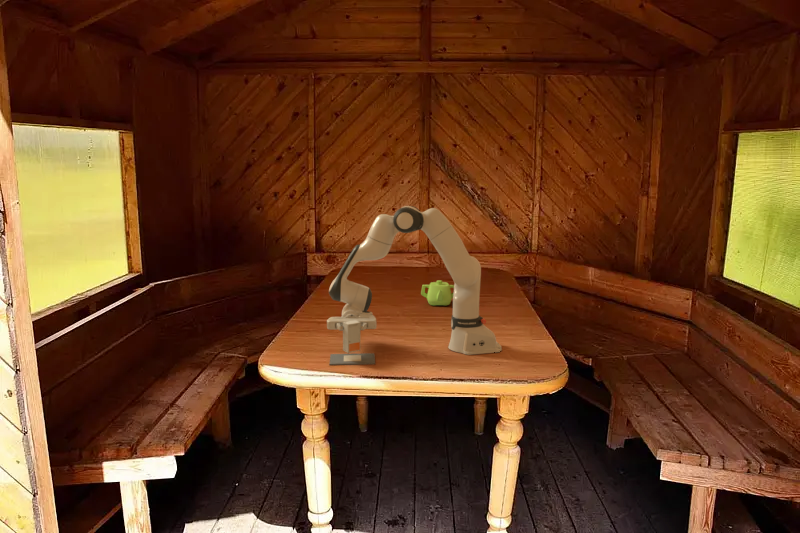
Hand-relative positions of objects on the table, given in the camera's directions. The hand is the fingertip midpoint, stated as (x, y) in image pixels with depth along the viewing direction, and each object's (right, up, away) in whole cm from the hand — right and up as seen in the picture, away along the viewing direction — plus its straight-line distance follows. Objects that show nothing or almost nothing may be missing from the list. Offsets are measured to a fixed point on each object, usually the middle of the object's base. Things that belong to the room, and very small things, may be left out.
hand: (351, 328), depth 256 cm
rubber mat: (0, -13, +3) cm, 13 cm away
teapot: (+41, +4, +94) cm, 102 cm away
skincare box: (0, -9, +3) cm, 10 cm away
